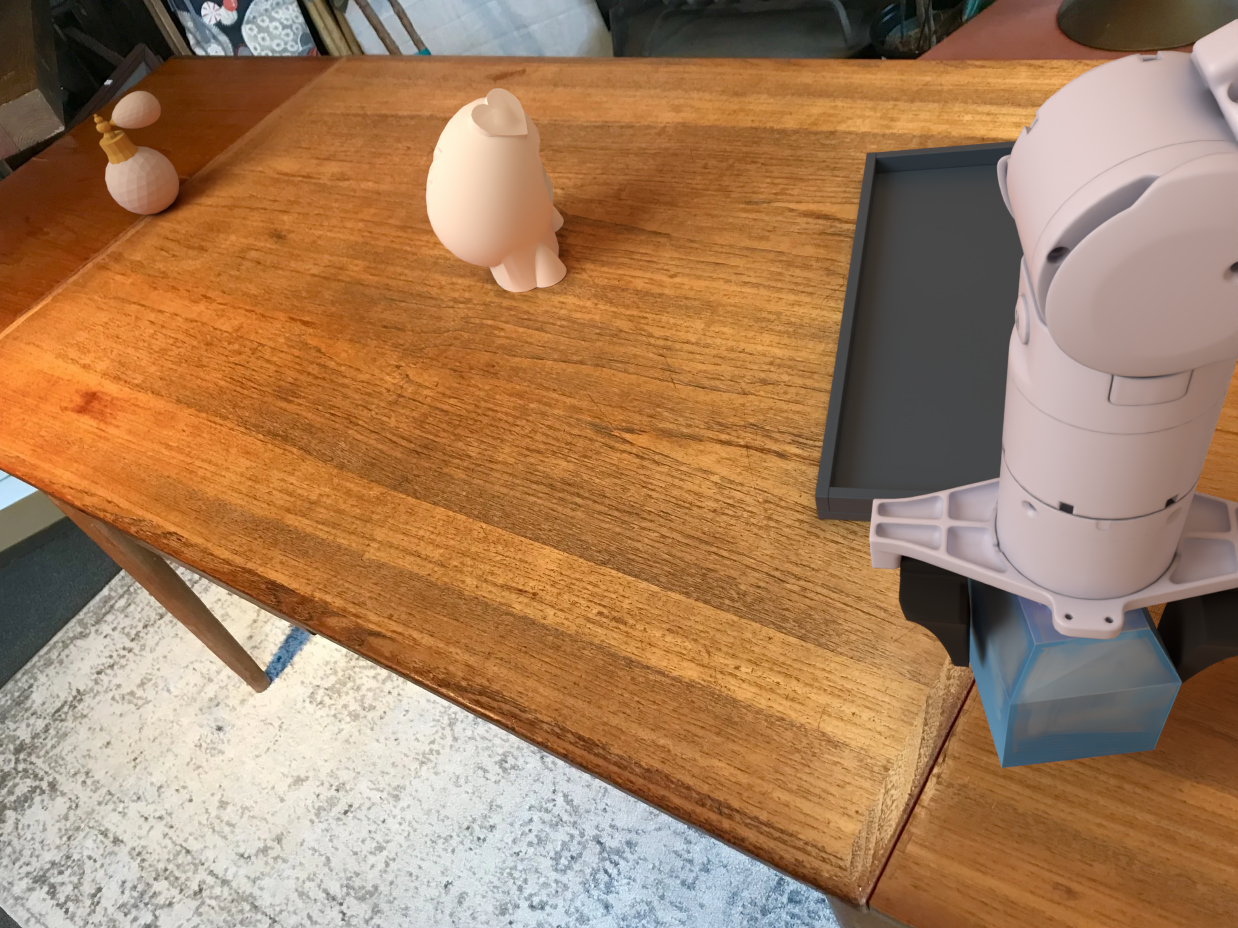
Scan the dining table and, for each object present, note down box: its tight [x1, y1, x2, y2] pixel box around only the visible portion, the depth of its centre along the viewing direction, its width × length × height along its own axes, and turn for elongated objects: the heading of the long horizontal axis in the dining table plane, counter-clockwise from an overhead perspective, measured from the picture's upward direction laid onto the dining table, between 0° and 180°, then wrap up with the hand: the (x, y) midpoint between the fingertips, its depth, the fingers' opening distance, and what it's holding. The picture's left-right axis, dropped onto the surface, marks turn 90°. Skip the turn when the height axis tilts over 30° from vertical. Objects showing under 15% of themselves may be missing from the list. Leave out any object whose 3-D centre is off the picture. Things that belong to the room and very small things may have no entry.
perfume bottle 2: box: [968, 577, 1182, 769], centre depth 38 cm, size 6×6×12 cm
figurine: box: [425, 87, 567, 293], centre depth 78 cm, size 11×11×15 cm
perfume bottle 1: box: [93, 90, 180, 216], centre depth 104 cm, size 8×10×12 cm
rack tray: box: [814, 140, 1024, 522], centre depth 64 cm, size 16×36×2 cm, turn 165°
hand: (1059, 655), depth 40 cm, fingers closed on perfume bottle 2, 7 cm apart
